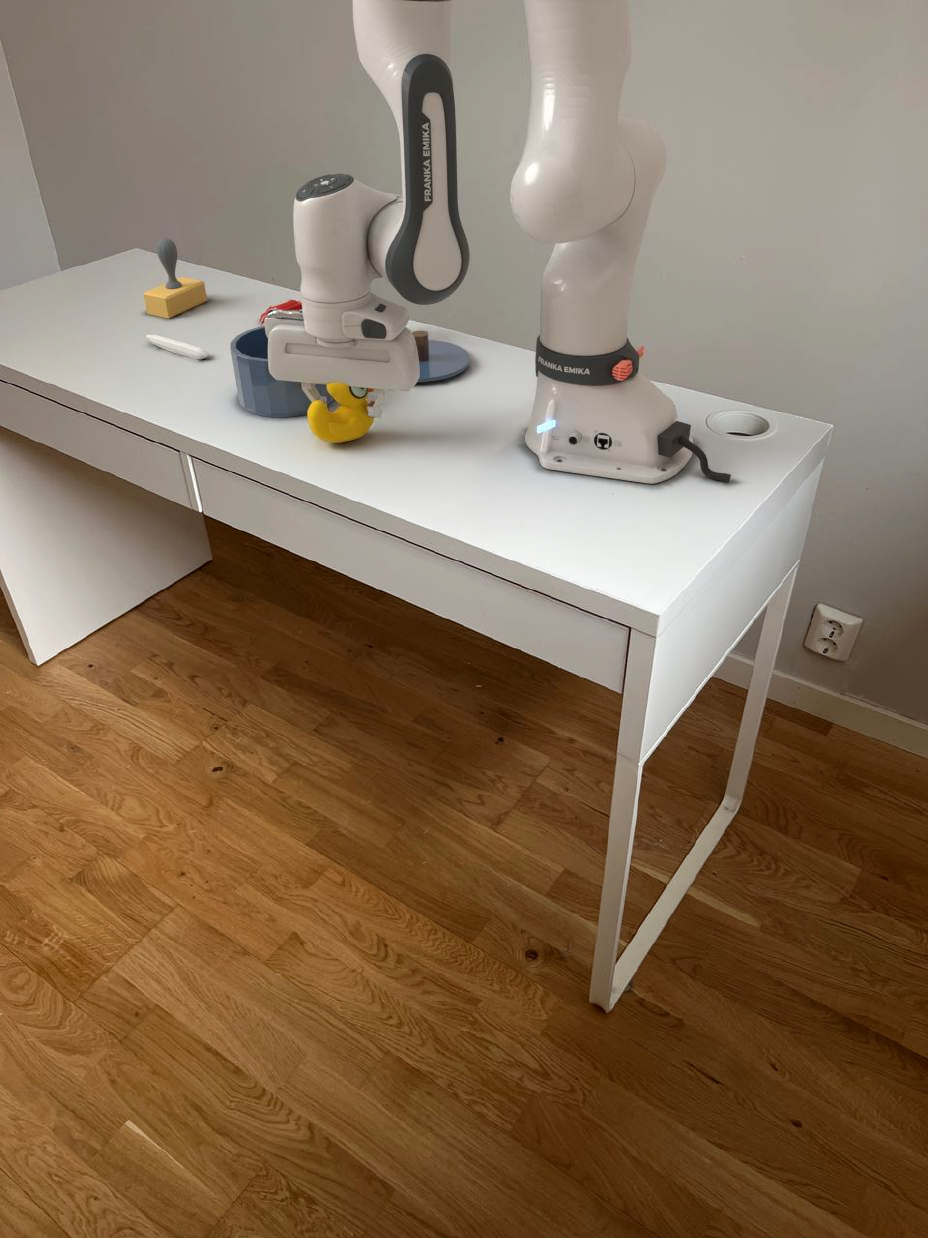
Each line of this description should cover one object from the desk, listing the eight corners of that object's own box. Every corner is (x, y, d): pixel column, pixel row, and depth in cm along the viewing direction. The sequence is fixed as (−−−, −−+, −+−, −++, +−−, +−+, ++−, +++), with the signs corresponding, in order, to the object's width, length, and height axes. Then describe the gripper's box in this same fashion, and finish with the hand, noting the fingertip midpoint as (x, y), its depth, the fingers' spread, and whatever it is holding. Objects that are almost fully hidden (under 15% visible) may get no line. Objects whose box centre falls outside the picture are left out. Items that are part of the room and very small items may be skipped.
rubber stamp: (185, 296, 186) (172, 228, 179) (208, 301, 184) (197, 233, 177) (146, 313, 180) (131, 244, 172) (170, 318, 177) (156, 248, 170)
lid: (487, 357, 161) (486, 325, 158) (438, 393, 151) (437, 359, 147) (406, 340, 167) (404, 309, 164) (353, 374, 157) (351, 341, 154)
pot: (354, 387, 153) (349, 332, 148) (296, 425, 143) (289, 368, 138) (279, 370, 159) (272, 316, 153) (219, 405, 149) (209, 349, 144)
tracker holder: (258, 306, 178) (312, 289, 178) (267, 331, 180) (320, 314, 179) (251, 315, 167) (309, 296, 166) (261, 341, 169) (318, 323, 168)
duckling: (377, 420, 144) (372, 352, 138) (395, 434, 140) (391, 366, 134) (304, 440, 139) (295, 372, 133) (321, 456, 135) (312, 386, 129)
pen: (151, 341, 169) (149, 331, 168) (210, 358, 163) (208, 348, 162) (143, 344, 168) (141, 334, 167) (203, 361, 162) (201, 351, 161)
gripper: (252, 316, 129) (267, 416, 137) (406, 328, 124) (412, 430, 133) (272, 299, 134) (285, 396, 142) (420, 310, 129) (425, 410, 138)
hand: (347, 413), depth 137 cm, fingers closed on duckling, 6 cm apart
